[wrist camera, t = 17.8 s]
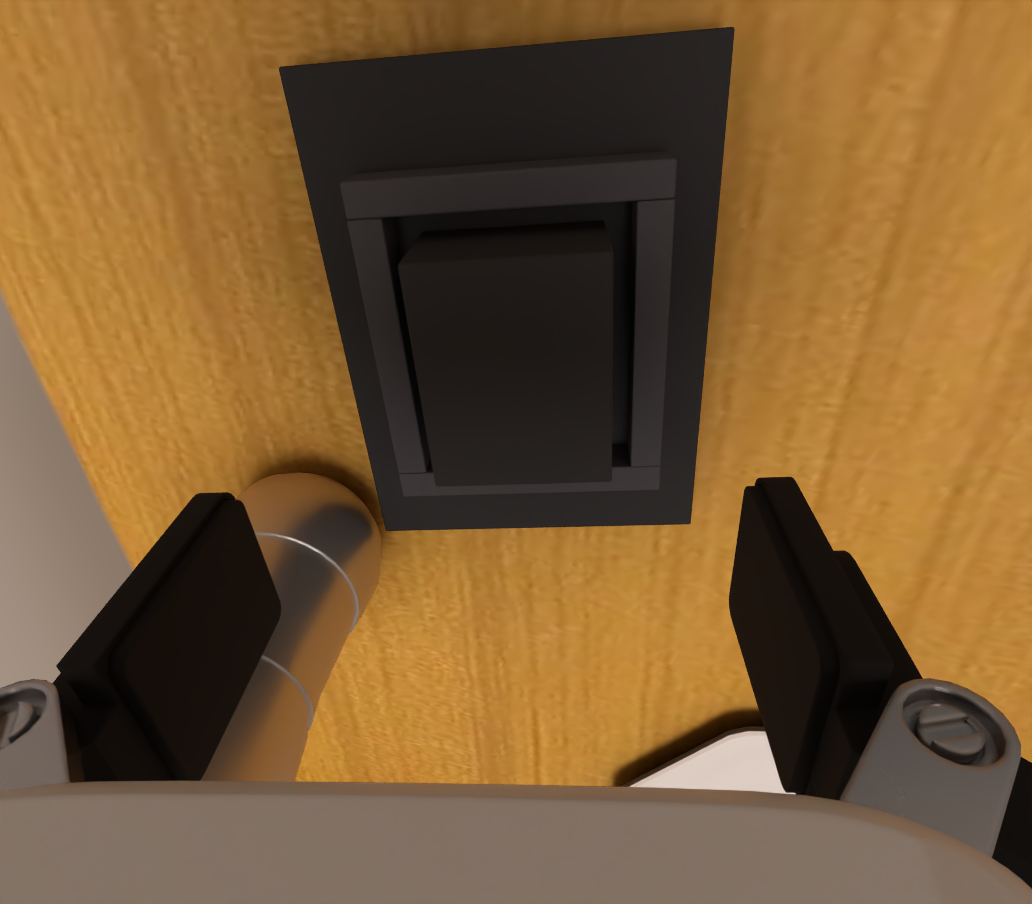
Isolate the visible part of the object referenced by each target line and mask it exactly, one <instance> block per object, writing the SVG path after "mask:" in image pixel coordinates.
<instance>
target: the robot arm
mask: <svg viewBox="0 0 1032 904" xmlns="http://www.w3.org/2000/svg"><path fill="white" fill-rule="evenodd" d="M729 609H730V614H731V618H732V622H733V625H734V628H735V632H736V635H737V638H738V642H739V645H740V648H741V652H742V655H743V658H744V662H745V665H746V668H747V672H748V675H749V678H750V682H751V685H752V688H753V692H754V695H755V698H756V702H757V705H758V708H759V712H760V715H761V718H762V722H763V725H764V728H765V732H766V735H767V738H768V742H769V745H770V748H771V752H772V755H773V758H774V762H775V765H776V768H777V772H778V775H779V778H780V782H781V784H782V787H783V789H784V791H785V792H786V793H795V794H783V793H771V792H759V791H740V790H712V789H684V788H656V787H610V786H558V785H506V784H441V783H368V782H275V781H200V780H201V779H202V777H203V775H204V774H205V772H206V770H207V768H208V765H209V763H210V761H211V759H212V757H213V755H214V753H215V751H216V749H217V747H218V745H219V743H220V741H221V739H222V737H223V735H224V733H225V731H226V729H227V726H228V724H229V722H230V720H231V718H232V716H233V714H234V712H235V710H236V708H237V706H238V704H239V702H240V700H241V698H242V696H243V694H244V692H245V690H246V687H247V685H248V683H249V681H250V679H251V677H252V675H253V673H254V671H255V669H256V667H257V665H258V663H259V661H260V659H261V657H262V655H263V653H264V651H265V648H266V646H267V644H268V642H269V640H270V638H271V636H272V634H273V632H274V630H275V628H276V626H277V624H278V622H279V619H280V615H281V602H280V599H279V596H278V593H277V591H276V588H275V585H274V583H273V580H272V577H271V575H270V572H269V569H268V567H267V564H266V561H265V559H264V556H263V553H262V551H261V548H260V546H259V543H258V540H257V538H256V535H255V532H254V530H253V527H252V524H251V522H250V519H249V516H248V514H247V511H246V508H245V506H244V504H243V502H242V501H240V500H236V499H235V497H234V496H233V495H232V494H231V493H227V492H226V493H199V494H196V495H195V496H194V497H193V498H192V499H191V500H190V502H189V503H188V504H187V505H186V506H185V508H184V509H183V510H182V511H181V513H180V514H179V515H178V516H177V518H176V519H175V520H174V521H173V523H172V524H171V525H170V526H169V527H168V529H167V530H166V531H165V532H164V534H163V535H162V536H161V537H160V539H159V540H158V541H157V542H156V543H155V545H154V546H153V547H152V548H151V550H150V551H149V552H148V553H147V555H146V556H145V557H144V558H143V560H142V561H141V562H140V563H139V564H138V566H137V567H136V568H135V569H134V571H133V572H132V573H131V574H130V576H129V577H128V578H127V579H126V581H125V582H124V583H123V584H122V586H121V587H120V588H119V589H118V590H117V592H116V593H115V594H114V595H113V597H112V598H111V599H110V600H109V601H108V603H107V604H106V605H105V606H104V608H103V609H102V610H101V611H100V613H99V614H98V615H97V616H96V618H95V619H94V620H93V621H92V623H91V624H90V625H89V626H88V627H87V629H86V630H85V631H84V632H83V634H82V635H81V636H80V637H79V639H78V640H77V641H76V642H75V643H74V645H73V646H72V647H71V648H70V650H69V651H68V652H67V653H66V655H65V656H64V657H63V658H62V659H61V661H60V662H59V663H58V664H57V668H58V669H59V671H60V672H61V673H60V675H59V676H58V677H57V678H56V680H55V681H54V682H53V683H50V682H48V681H47V680H39V679H31V680H25V681H19V682H16V683H13V684H10V685H8V686H5V687H2V688H0V904H1032V763H1031V762H1029V761H1027V760H1026V759H1024V758H1022V757H1021V744H1020V741H1019V739H1018V736H1017V734H1016V731H1015V729H1014V727H1013V726H1012V725H1011V723H1010V722H1009V721H1008V720H1007V718H1006V717H1005V716H1004V714H1003V713H1002V712H1001V711H1000V710H998V709H997V708H996V707H995V706H994V705H992V704H991V703H990V702H989V701H988V700H986V699H985V698H983V697H981V696H980V695H978V694H976V693H975V692H973V691H971V690H969V689H968V688H965V687H962V686H959V685H957V684H954V683H951V682H948V681H943V680H937V679H931V678H926V679H923V678H922V676H921V675H920V673H919V671H918V669H917V668H916V666H915V664H914V662H913V661H912V659H911V657H910V655H909V654H908V652H907V650H906V649H905V647H904V645H903V643H902V642H901V640H900V638H899V636H898V635H897V633H896V631H895V629H894V628H893V626H892V624H891V622H890V621H889V619H888V617H887V615H886V614H885V612H884V610H883V608H882V607H881V605H880V603H879V601H878V600H877V598H876V596H875V594H874V593H873V591H872V589H871V587H870V586H869V584H868V582H867V581H866V579H865V577H864V575H863V574H862V572H861V570H860V568H859V567H858V565H857V563H856V561H855V560H854V558H853V557H852V556H851V554H850V553H848V552H846V551H833V549H832V548H831V546H830V544H829V542H828V540H827V538H826V536H825V535H824V533H823V531H822V529H821V527H820V525H819V523H818V522H817V520H816V518H815V516H814V514H813V512H812V511H811V509H810V507H809V505H808V503H807V501H806V499H805V498H804V496H803V494H802V492H801V490H800V488H799V487H798V485H797V483H796V481H795V480H794V478H792V477H769V478H758V479H757V480H756V482H755V486H747V487H746V488H745V490H744V496H743V503H742V510H741V517H740V524H739V531H738V538H737V545H736V552H735V559H734V566H733V573H732V580H731V587H730V594H729Z"/></svg>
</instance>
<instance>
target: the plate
mask: <svg viewBox="0 0 1032 904" xmlns="http://www.w3.org/2000/svg"><path fill="white" fill-rule="evenodd" d="M622 787H656V788H684V789H712V790H740V791H759V792H771V793H783V794H795V793H786V792H785V791H784V789H783V787H782V784H781V782H780V778H779V775H778V772H777V768H776V765H775V762H774V758H773V755H772V752H771V748H770V745H769V742H768V738H767V735H766V732H765V728H764V727H749V726H747V727H742V728H738V729H733V730H729V731H727V732H725V733H723V734H721V735H719V736H717V737H715V738H713V739H711V740H709V741H707V742H705V743H703V744H701V745H699V746H698V747H696V748H694V749H692V750H690V751H688V752H686V753H684V754H682V755H680V756H678V757H676V758H674V759H672V760H670V761H668V762H667V763H665V764H663V765H661V766H659V767H657V768H655V769H653V770H651V771H649V772H647V773H645V774H643V775H641V776H639V777H638V778H636V779H634V780H632V781H630V782H628V783H626V784H624V785H623V786H622Z"/></svg>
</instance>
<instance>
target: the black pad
mask: <svg viewBox="0 0 1032 904" xmlns="http://www.w3.org/2000/svg"><path fill="white" fill-rule="evenodd" d="M613 255H614V254H613V250H612V247H611V243H610V239H609V235H608V232H607V228H606V224H605V222H604V221H587V222H572V223H556V224H540V225H524V226H509V227H493V228H477V229H461V230H445V231H430V232H423V233H421V235H420V236H419V237H418V239H417V240H416V241H415V243H414V244H413V245H412V247H411V248H410V249H409V251H408V252H407V253H406V255H405V256H404V257H403V259H402V260H401V261H400V263H399V264H398V271H399V277H400V282H401V288H402V294H403V300H404V306H405V312H406V317H407V323H408V329H409V335H410V341H411V347H412V352H413V358H414V364H415V370H416V376H417V382H418V387H419V393H420V399H421V405H422V411H423V417H424V422H425V428H426V434H427V440H428V446H429V452H430V457H431V463H432V469H433V475H434V481H435V485H436V486H437V487H447V486H483V485H519V484H555V483H590V482H610V481H611V480H612V404H613Z"/></svg>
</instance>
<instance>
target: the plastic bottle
mask: <svg viewBox="0 0 1032 904" xmlns="http://www.w3.org/2000/svg"><path fill="white" fill-rule="evenodd" d="M236 500H240V501H242V502H243V504H244V506H245V508H246V511H247V514H248V516H249V519H250V522H251V524H252V527H253V530H254V532H255V535H256V538H257V540H258V543H259V546H260V548H261V551H262V553H263V556H264V559H265V561H266V564H267V567H268V569H269V572H270V575H271V577H272V580H273V583H274V585H275V588H276V591H277V593H278V596H279V599H280V602H281V615H280V619H279V622H278V624H277V626H276V628H275V630H274V632H273V634H272V636H271V638H270V640H269V642H268V644H267V646H266V648H265V651H264V653H263V655H262V657H261V659H260V661H259V663H258V665H257V667H256V669H255V671H254V673H253V675H252V677H251V679H250V681H249V683H248V685H247V687H246V690H245V692H244V694H243V696H242V698H241V700H240V702H239V704H238V706H237V708H236V710H235V712H234V714H233V716H232V718H231V720H230V722H229V724H228V726H227V729H226V731H225V733H224V735H223V737H222V739H221V741H220V743H219V745H218V747H217V749H216V751H215V753H214V755H213V757H212V759H211V761H210V763H209V765H208V768H207V770H206V772H205V774H204V775H203V777H202V779H201V780H200V781H275V782H295V778H296V775H297V772H298V768H299V765H300V762H301V758H302V755H303V752H304V748H305V745H306V742H307V737H308V731H309V728H310V726H311V724H312V722H313V718H314V715H315V711H316V708H317V705H318V701H319V698H320V695H321V693H322V691H323V689H324V687H325V684H326V682H327V680H328V678H329V676H330V673H331V671H332V669H333V667H334V665H335V663H336V660H337V658H338V656H339V654H340V652H341V650H342V647H343V645H344V643H345V641H346V639H347V636H348V634H349V633H350V632H351V631H352V630H353V628H354V627H355V625H356V624H357V622H358V621H359V619H360V618H361V616H362V614H363V612H364V610H365V609H366V607H367V605H368V603H369V601H370V599H371V597H372V595H373V593H374V591H375V589H376V587H377V584H378V581H379V575H380V566H381V556H382V540H381V535H380V532H379V529H378V526H377V524H376V522H375V520H374V518H373V517H372V515H371V513H370V512H369V510H368V508H367V507H366V505H365V504H364V503H363V502H362V501H361V500H360V498H359V497H358V496H357V495H355V494H354V493H353V492H352V491H351V490H349V489H348V488H347V487H345V486H343V485H342V484H340V483H338V482H337V481H334V480H332V479H329V478H327V477H324V476H320V475H316V474H312V473H301V472H298V473H287V474H276V475H273V476H269V477H266V478H263V479H261V480H259V481H257V482H255V483H254V484H252V485H251V486H250V487H249V488H247V489H246V490H245V491H244V492H243V493H242V494H241V495H240V496H239V497H237V498H236Z"/></svg>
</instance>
